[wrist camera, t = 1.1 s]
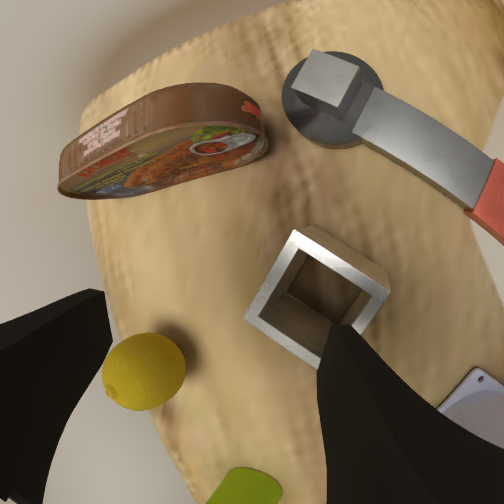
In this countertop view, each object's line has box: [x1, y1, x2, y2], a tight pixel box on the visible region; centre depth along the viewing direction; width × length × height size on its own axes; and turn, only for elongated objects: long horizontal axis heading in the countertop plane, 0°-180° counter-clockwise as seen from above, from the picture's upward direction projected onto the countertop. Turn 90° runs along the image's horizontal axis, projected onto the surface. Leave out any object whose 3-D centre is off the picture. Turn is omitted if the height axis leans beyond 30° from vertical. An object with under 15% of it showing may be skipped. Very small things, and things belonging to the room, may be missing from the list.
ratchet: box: [282, 49, 504, 246], centre depth 13 cm, size 21×6×4 cm, turn 62°
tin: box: [57, 83, 268, 200], centre depth 17 cm, size 15×3×8 cm, turn 100°
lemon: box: [102, 333, 186, 411], centre depth 20 cm, size 6×6×8 cm
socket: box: [243, 225, 391, 369], centre depth 16 cm, size 5×5×5 cm
